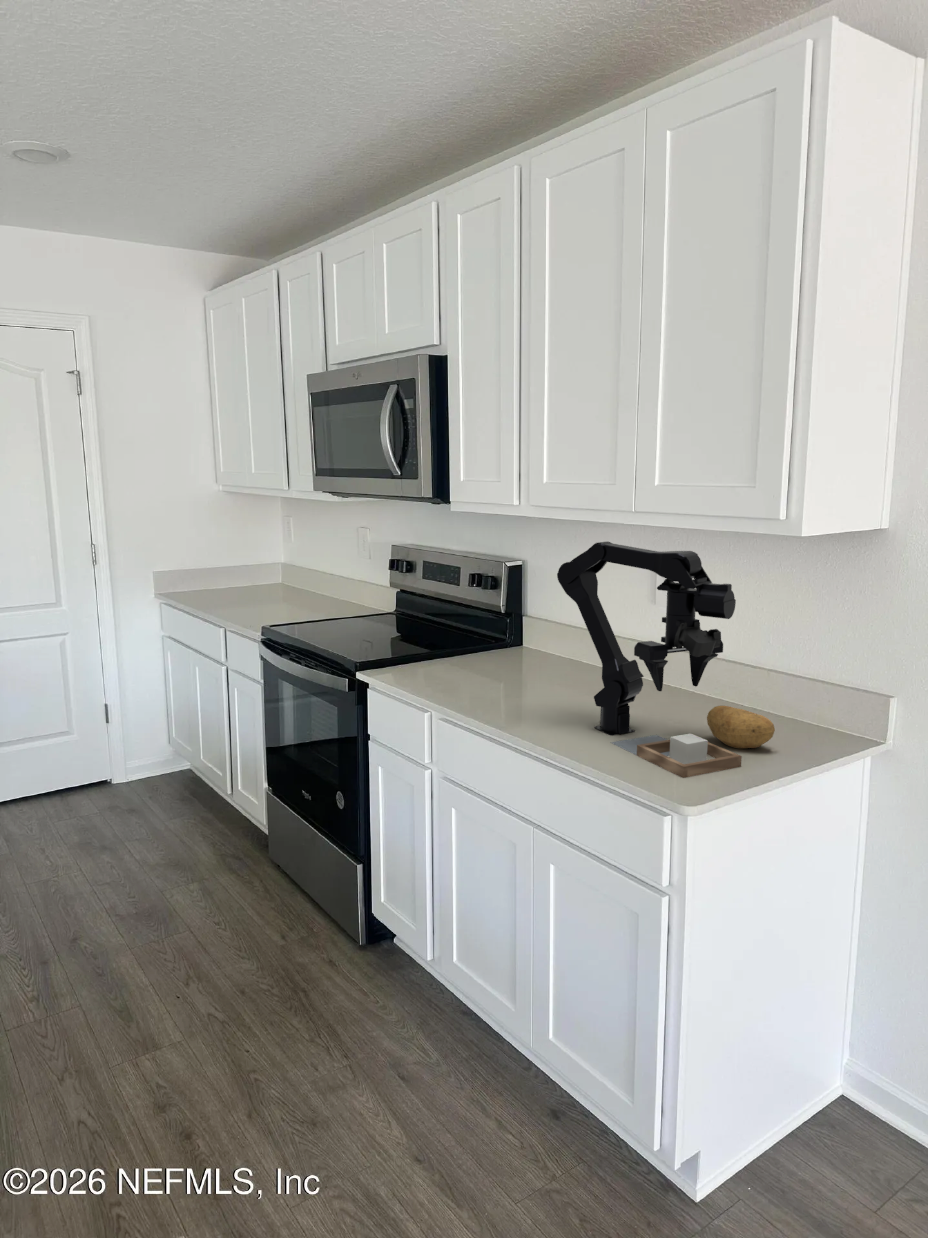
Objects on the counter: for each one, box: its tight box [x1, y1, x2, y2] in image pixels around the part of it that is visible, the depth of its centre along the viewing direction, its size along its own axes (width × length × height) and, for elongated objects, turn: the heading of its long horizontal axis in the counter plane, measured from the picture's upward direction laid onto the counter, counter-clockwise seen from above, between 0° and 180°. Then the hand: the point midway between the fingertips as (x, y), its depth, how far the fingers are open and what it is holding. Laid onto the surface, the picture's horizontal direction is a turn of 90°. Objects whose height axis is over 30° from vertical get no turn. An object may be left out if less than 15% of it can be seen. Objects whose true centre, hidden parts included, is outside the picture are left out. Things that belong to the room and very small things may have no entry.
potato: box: [706, 705, 776, 749], centre depth 177 cm, size 10×14×8 cm
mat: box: [610, 734, 670, 760], centre depth 177 cm, size 12×12×1 cm
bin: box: [636, 739, 743, 779], centre depth 168 cm, size 14×14×2 cm
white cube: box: [668, 733, 709, 764], centre depth 168 cm, size 5×5×5 cm
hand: (677, 688), depth 178 cm, fingers open, 9 cm apart
